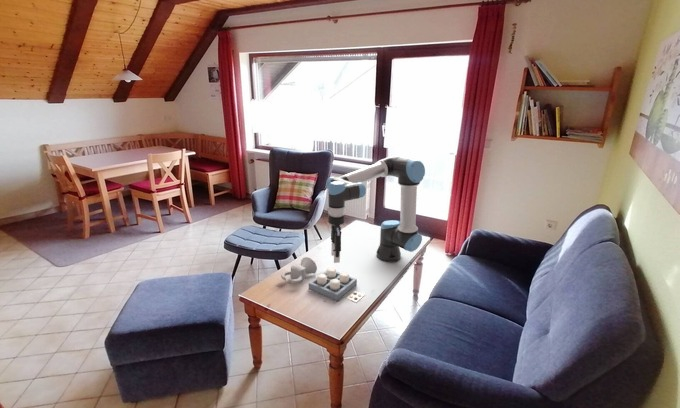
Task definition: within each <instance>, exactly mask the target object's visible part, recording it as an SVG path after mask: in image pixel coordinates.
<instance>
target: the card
mask: <svg viewBox="0 0 680 408" xmlns="http://www.w3.org/2000/svg"><path fill="white" fill-rule="evenodd" d="M364 296H365V293H361V292H358V291H356V290H354V291H353V292H352V293H350V294H349V295H347V297H346V298H345V299H347V300H349V301H351V302H354V303H356V304H357V303H358V302H359V301H360V300H361V299H363V297H364Z"/></svg>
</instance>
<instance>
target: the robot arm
mask: <svg viewBox="0 0 680 408" xmlns="http://www.w3.org/2000/svg"><path fill="white" fill-rule="evenodd" d="M425 174H426V168H425V165H424V163H423V162H422V161H421V160H418V159H415V158H412V157H411V158H410V157H406V156H401V155H393V156H387V157H385V158H381V159H379V160H377V161H376V162H375V163H374V164H371V165H369V166H364V167H362V168H360V169H357V170H355V171H352V172H349V173H346V174H343V175H340V176H334V175H333V176H330V177H328V178H327V179H326V181H325V182H326V183H325V188H326V189H327V190H328V191H327V193H328V207H327V211H328V216H327V217H328V219H327V222H328V223H329V225H331V228H330V229H331V230H330V233H331V234H330V240H331V241H330V242H331V250H330V251H331V252H330V255H331V256H332V257H333V263H334V264H338V263H340V259H341V251H342V227H341V225H343V224H344V223H345V210H346V209H345V208H346V205H345V204H346V202H348V201H352V200H357V199H361V198H363V197H364V196H366V193H367V188H366V186H365V183H367V182H369V181H372V180H373V181H374V180H375V179H378V178H380V177H381V178H385V177H388V176H391V177H395V178H397V179H398V180H397V184H398V185H399V186H400V210H399V211H400V215H399V216H400V220H396V219H395V220H393V219H391V220H384V221H383V222H382V223H381V224H380V238H379V245H378V248H377V249H376V257H377V259H379V260H380V261H384V262H390V263H391V262H397V261H399V260H400V259H401V256H402V254H401V253H402V252H401V249H403V250H404V251H407V252H410V253H412V252H414V251H416V250H417V249H419V247H420V246H421V244H422V241H423V235H422V234H420V233H419V227H418V226H417V225H416V219H417V218H416V216H417V197H418V196H417V195H418V194H417V193H418V192H417V190H418V186H419V185H420V184H421V182H422V181H423V180H424V177H425ZM400 248H401V249H400Z"/></svg>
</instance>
